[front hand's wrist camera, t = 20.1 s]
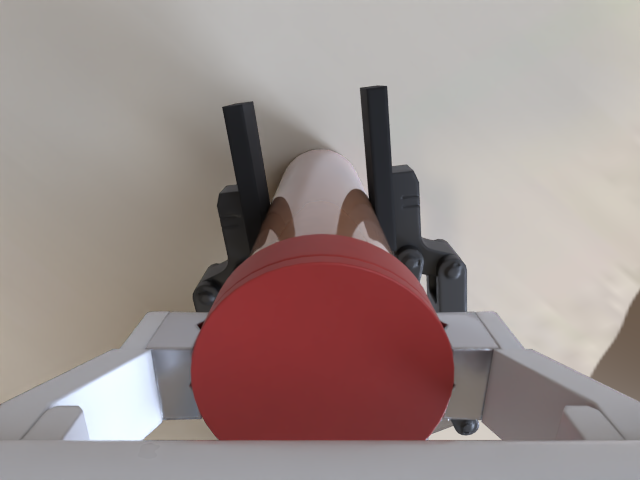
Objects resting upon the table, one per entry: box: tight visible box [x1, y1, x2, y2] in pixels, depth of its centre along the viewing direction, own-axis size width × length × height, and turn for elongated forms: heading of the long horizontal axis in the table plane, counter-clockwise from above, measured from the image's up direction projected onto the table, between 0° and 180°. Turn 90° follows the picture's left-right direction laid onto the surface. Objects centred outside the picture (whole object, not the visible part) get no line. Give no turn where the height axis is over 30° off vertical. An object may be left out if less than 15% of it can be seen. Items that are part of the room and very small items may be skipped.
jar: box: [248, 149, 394, 258], centre depth 17 cm, size 5×5×16 cm
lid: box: [190, 234, 454, 440], centre depth 9 cm, size 5×5×2 cm
